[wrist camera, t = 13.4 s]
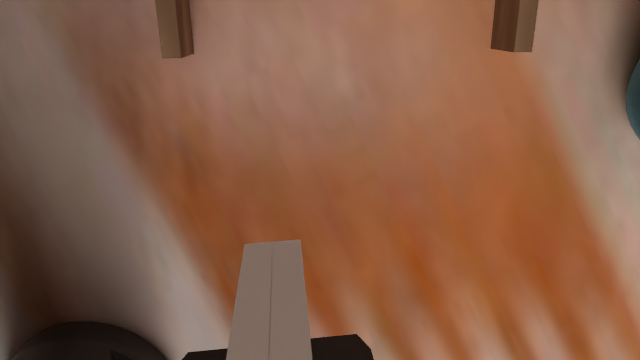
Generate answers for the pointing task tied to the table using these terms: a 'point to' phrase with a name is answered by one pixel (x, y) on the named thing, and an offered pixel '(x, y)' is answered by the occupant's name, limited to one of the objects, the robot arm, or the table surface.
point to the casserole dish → (634, 100)
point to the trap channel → (508, 35)
